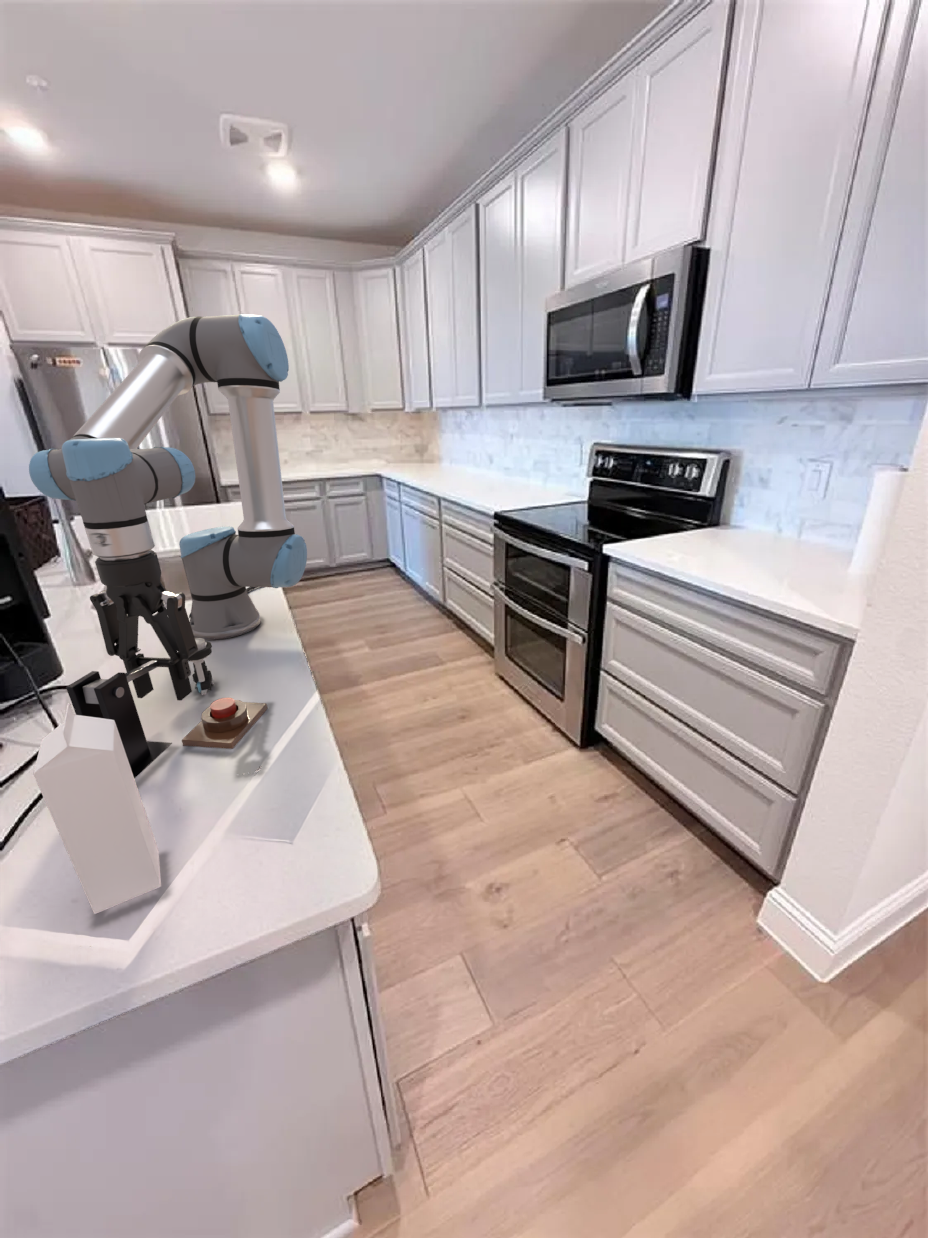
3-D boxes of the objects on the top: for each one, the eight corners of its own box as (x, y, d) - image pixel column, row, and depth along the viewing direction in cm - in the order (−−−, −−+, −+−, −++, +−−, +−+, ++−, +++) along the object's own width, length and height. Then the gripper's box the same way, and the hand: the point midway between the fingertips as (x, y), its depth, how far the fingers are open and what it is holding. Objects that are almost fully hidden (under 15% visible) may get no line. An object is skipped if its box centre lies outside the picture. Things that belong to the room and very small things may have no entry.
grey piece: (221, 698, 91) (209, 648, 87) (188, 705, 89) (174, 654, 85) (221, 681, 96) (210, 633, 93) (190, 687, 95) (178, 639, 91)
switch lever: (144, 667, 80) (141, 652, 80) (179, 668, 79) (177, 654, 79) (73, 702, 68) (69, 686, 67) (113, 705, 67) (110, 688, 66)
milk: (161, 856, 59) (107, 691, 50) (164, 895, 54) (105, 721, 46) (98, 880, 56) (30, 710, 48) (95, 924, 51) (19, 743, 43)
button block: (224, 711, 87) (220, 691, 85) (268, 714, 86) (264, 693, 84) (184, 752, 77) (178, 729, 75) (234, 755, 76) (228, 733, 74)
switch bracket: (126, 745, 78) (98, 661, 73) (174, 749, 77) (149, 663, 72) (73, 791, 69) (35, 698, 64) (126, 795, 68) (93, 701, 63)
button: (220, 706, 82) (218, 696, 81) (241, 707, 81) (239, 698, 81) (207, 718, 78) (204, 709, 78) (229, 720, 78) (226, 710, 77)
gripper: (42, 559, 70) (92, 704, 78) (169, 562, 67) (206, 710, 76) (86, 546, 76) (127, 680, 85) (203, 547, 74) (233, 685, 83)
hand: (165, 694), depth 81 cm, fingers closed on switch lever, 6 cm apart
